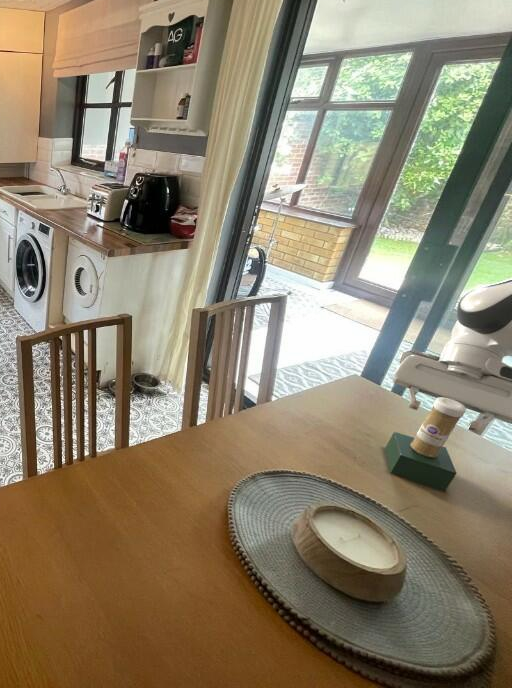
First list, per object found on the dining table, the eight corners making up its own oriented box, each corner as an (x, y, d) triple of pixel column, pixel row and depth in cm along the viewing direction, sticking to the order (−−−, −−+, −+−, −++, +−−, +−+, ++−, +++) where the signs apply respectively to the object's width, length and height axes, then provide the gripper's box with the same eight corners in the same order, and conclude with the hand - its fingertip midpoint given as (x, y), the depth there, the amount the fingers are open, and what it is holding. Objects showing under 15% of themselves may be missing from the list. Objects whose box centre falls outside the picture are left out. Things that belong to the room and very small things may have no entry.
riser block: (434, 464, 95) (445, 447, 93) (444, 491, 89) (456, 473, 86) (384, 448, 100) (394, 431, 98) (390, 473, 93) (400, 455, 91)
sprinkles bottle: (407, 449, 92) (435, 402, 87) (411, 440, 95) (438, 393, 89) (435, 461, 89) (465, 413, 83) (439, 451, 92) (468, 404, 86)
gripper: (407, 341, 96) (382, 392, 94) (543, 381, 82) (516, 441, 81) (402, 351, 101) (378, 399, 99) (530, 390, 87) (505, 447, 85)
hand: (441, 418), depth 90 cm, fingers open, 8 cm apart
